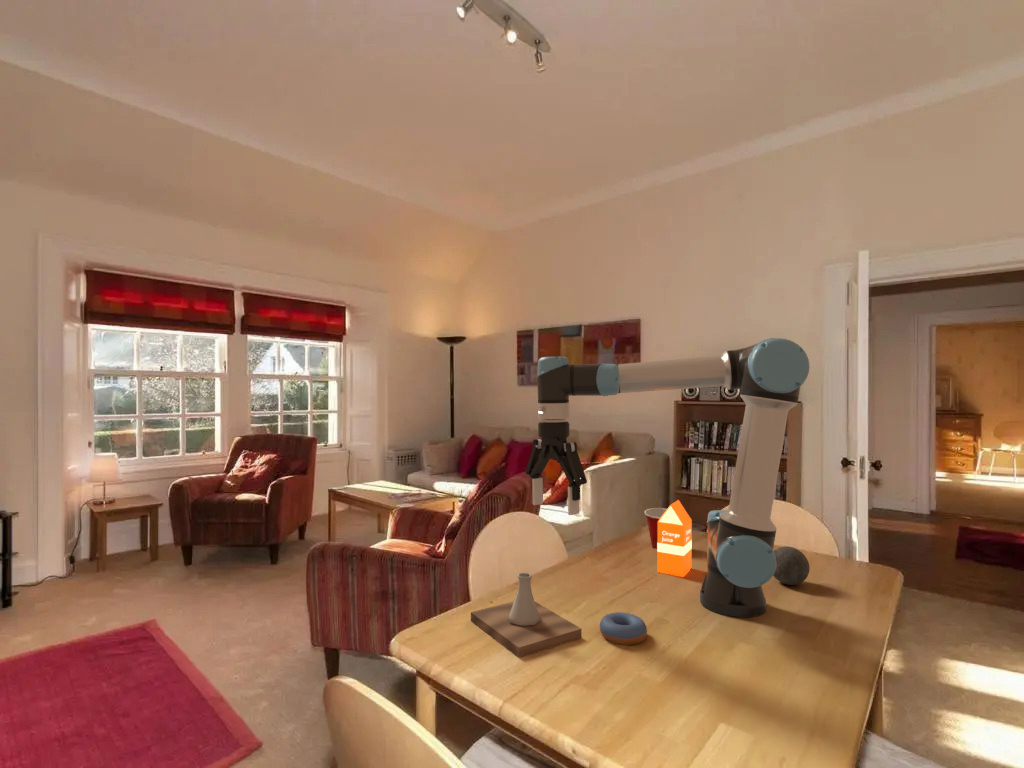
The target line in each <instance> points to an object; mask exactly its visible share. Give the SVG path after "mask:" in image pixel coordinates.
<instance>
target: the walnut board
mask: <svg viewBox="0 0 1024 768" xmlns="http://www.w3.org/2000/svg"><path fill="white" fill-rule="evenodd" d="M513 603H514V601H510V602H506V603H501V604H498V605H494V606H490V607H486V608H483V609H482V608H481V609H478V610H474V611H471V612H470V622H471V623H473V624H474V625H475V626H476V627H478V628H480V629H481V630H482V631H483V632H484V633H486V634H487V635H488V636H490V637H491V638H492V639H493V640H495V641H497V642H498V644H501V645H502V647H504V648H505V649H506V650H508V651H509V652H511V654H513V655H514V656H516V657H517V658H519V659H520V658H522V657H525V656H529V655H531V654H534V653H538V651H539V652H541V650H542V651H545V650H548V649H551V648H554V646H555V647H557V645H558V646H561V645H564V644H567V643H570V642H573V640H574V641H577V640H579V638H580V639H582V628H581V627H579V626H578V625H577V624H575V623H572V622H571V621H569V620H567V619H566V618H564V617H562V616H560V615H559V614H557V613H556V612H554V611H552V610H550V609H549V608H547V607H546V606H544V605H541V604H540V603H539V602H537V601H535V605H536V608H537V611H538V613H539V616H540V621H539V622H538V623H537V624H535V625H528V626H520V625H516V624H513V623H510V621H509V614H510V611H511V609H512V606H513ZM576 639H577V640H576ZM566 642H567V643H566ZM563 643H564V644H563ZM560 644H561V645H560ZM550 647H551V648H550ZM544 649H545V650H544Z"/></svg>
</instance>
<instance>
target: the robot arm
mask: <svg viewBox="0 0 1024 768" xmlns="http://www.w3.org/2000/svg"><path fill="white" fill-rule="evenodd" d="M809 373H810V359H809V357H808V354H807V353H806V351H805V350H804V349H803V347H802V346H801V345H799V344H798V343H796V342H795V341H793V340H790V339H787V338H781V337H778V338H777V337H776V338H773V337H772V338H767V339H764V340H761V341H759V342H757V343H755V344H753V345H749V346H747V347H744V348H743V347H742V348H738V349H731V350H725V351H723V352H722V354H720V355H709V356H708V355H707V356H700V357H699V356H698V357H688V358H675V359H666V360H665V359H664V360H654V361H644V362H643V361H642V362H629V363H617V364H616V363H604V362H602V363H591V364H590V363H587V364H571V363H570V362H569V358H568V357H566V356H542V357H540V358H539V359H538V361H537V374H536V380H537V383H536V384H537V407H538V409H537V410H538V411H537V413H538V414H537V418H538V420H539V422H538V423H537V424H538V425H537V429H538V431H537V435H538V437H539V438H534V439H533V440H532V449H531V453H530V455H529V458H528V462H527V465H526V470H525V475H528V476H529V477H530V479H531V491H532V492H531V493H532V505H533V506H538V505H543V504H544V487H543V486H544V483H543V480H544V479H543V475H542V474H543V473H544V470H545V469H546V467H547V465H548V463H549V461H550V460H553V461H556V463H558V464H559V465H560V467H561V469H562V471H563V473H564V475H565V477H566V479H567V482H568V483H569V484H568V486H567V511H568V512H567V513H568V514H567V515H568V516H575V515H579V514H580V500H581V486H582V485H586V484H588V480H587V477H586V473H585V471H584V467H583V465H582V461H581V459H580V455H579V453H578V447H577V446H578V445H577V443H576V442H572V441H571V442H568V441H567V438H569V436H570V422H569V421H568V420H569V419H570V400H569V399H570V396H572V397H576V396H577V397H578V396H580V397H581V396H582V397H583V396H585V397H587V396H590V397H591V396H592V397H594V396H595V397H597V396H599V397H601V396H603V397H608V396H616V395H618V394H628V393H643V392H655V391H657V392H658V391H670V390H672V391H673V390H682V389H683V390H684V389H686V390H688V389H698V388H713V387H714V388H715V387H724V388H725V389H726V390H740V394H739V397H740V398H741V399H742V401H743V402H744V404H745V409H744V414H743V420H742V427H741V434H740V439H739V445H738V450H737V457H736V463H735V468H734V474H733V480H732V482H733V483H732V486H731V487H732V488H731V493H730V500H729V506H728V509H727V510H725V509H716V510H715V509H713V510H710V511H709V512H708V514H707V521H706V524H707V566H706V567H707V568H706V569H707V570H706V574H705V576H704V579H703V582H702V585H701V588H700V590H699V602H700V604H701V605H702V606H703V607H704V608H706V609H708V610H710V611H713V612H715V613H718V614H721V615H723V616H724V615H725V616H729V617H730V616H731V617H736V618H754V617H759V616H762V615H764V614H765V613H766V612H767V600H766V597H765V595H764V591H763V588H762V586H763V585H765V584H766V583H767V582H769V581H771V579H772V578H773V577H774V576H773V575H774V573H775V570H776V557H775V553H774V548H775V547H774V546H775V541H776V540H775V539H776V534H777V526H776V525H775V524H774V522H773V521H772V519H771V516H772V510H773V506H774V505H773V504H774V500H775V499H774V497H775V492H776V487H777V480H778V474H779V470H780V469H779V468H780V463H781V457H782V450H783V445H784V439H785V433H786V427H787V422H788V420H787V419H788V417H789V416H788V414H789V411H790V410H791V409H793V408H794V407H796V406H797V405H798V403H799V397H800V392H801V386H802V385H804V383H805V381H806V380H807V378H808V377H809V376H808V375H809Z"/></svg>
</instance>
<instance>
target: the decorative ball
mask: <svg viewBox="0 0 1024 768" xmlns="http://www.w3.org/2000/svg"><path fill="white" fill-rule="evenodd" d="M773 551H774V553H775V557H776V570H775V573H774V575H773V576H772V577H773V578H774V579H776V580H777V581H778V582H780V583H782V584H785V585H789V586H796V585H799V584H801V583H803V582H804V581H806V579H807V578H808V576H809V574H810V562H809V560H808V558H807V557H806V555H805V554H804V553H803V552H802V551H801V550H799V549H797V548H795V547H792V546H785V545H784V546H779V547H778V548H775V549H773Z"/></svg>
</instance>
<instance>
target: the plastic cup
mask: <svg viewBox="0 0 1024 768" xmlns="http://www.w3.org/2000/svg"><path fill="white" fill-rule="evenodd" d="M667 509H668V508H664V507H652V508H647V509H646V510H644V516H646V520H647V526H648V531H649V538H650V544H651V546H652V547H651V548H653V547H654V549H655V548H656V550H657V543H658V521H659V519H660V518H661V517H662V515H663V514H664V513H665V511H666V510H667Z"/></svg>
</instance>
